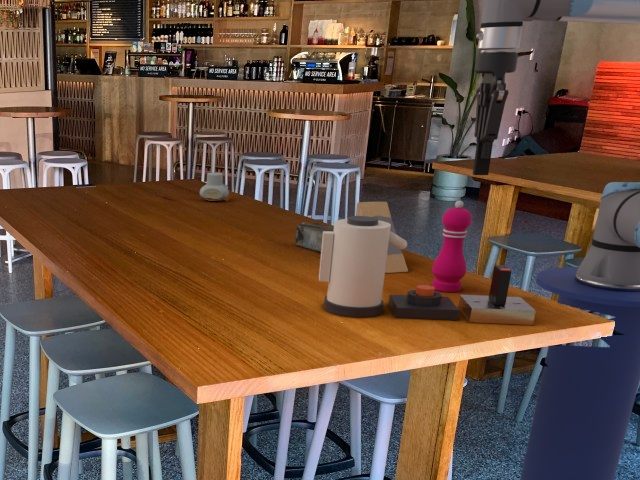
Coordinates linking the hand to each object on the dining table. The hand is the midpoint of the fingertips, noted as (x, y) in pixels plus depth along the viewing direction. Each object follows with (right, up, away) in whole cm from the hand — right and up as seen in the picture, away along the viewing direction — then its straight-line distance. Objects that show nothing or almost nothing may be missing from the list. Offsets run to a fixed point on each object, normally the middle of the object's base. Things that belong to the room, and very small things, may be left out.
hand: (480, 174), depth 164 cm
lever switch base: (+2, -30, -2) cm, 30 cm away
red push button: (-12, -25, -1) cm, 28 cm away
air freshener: (-41, +26, +135) cm, 143 cm away
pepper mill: (0, -22, +18) cm, 28 cm away
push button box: (-12, -29, 0) cm, 31 cm away
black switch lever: (+2, -27, -4) cm, 27 cm away
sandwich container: (-9, -13, +38) cm, 42 cm away
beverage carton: (-18, -7, +55) cm, 58 cm away
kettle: (-26, -28, +2) cm, 38 cm away
